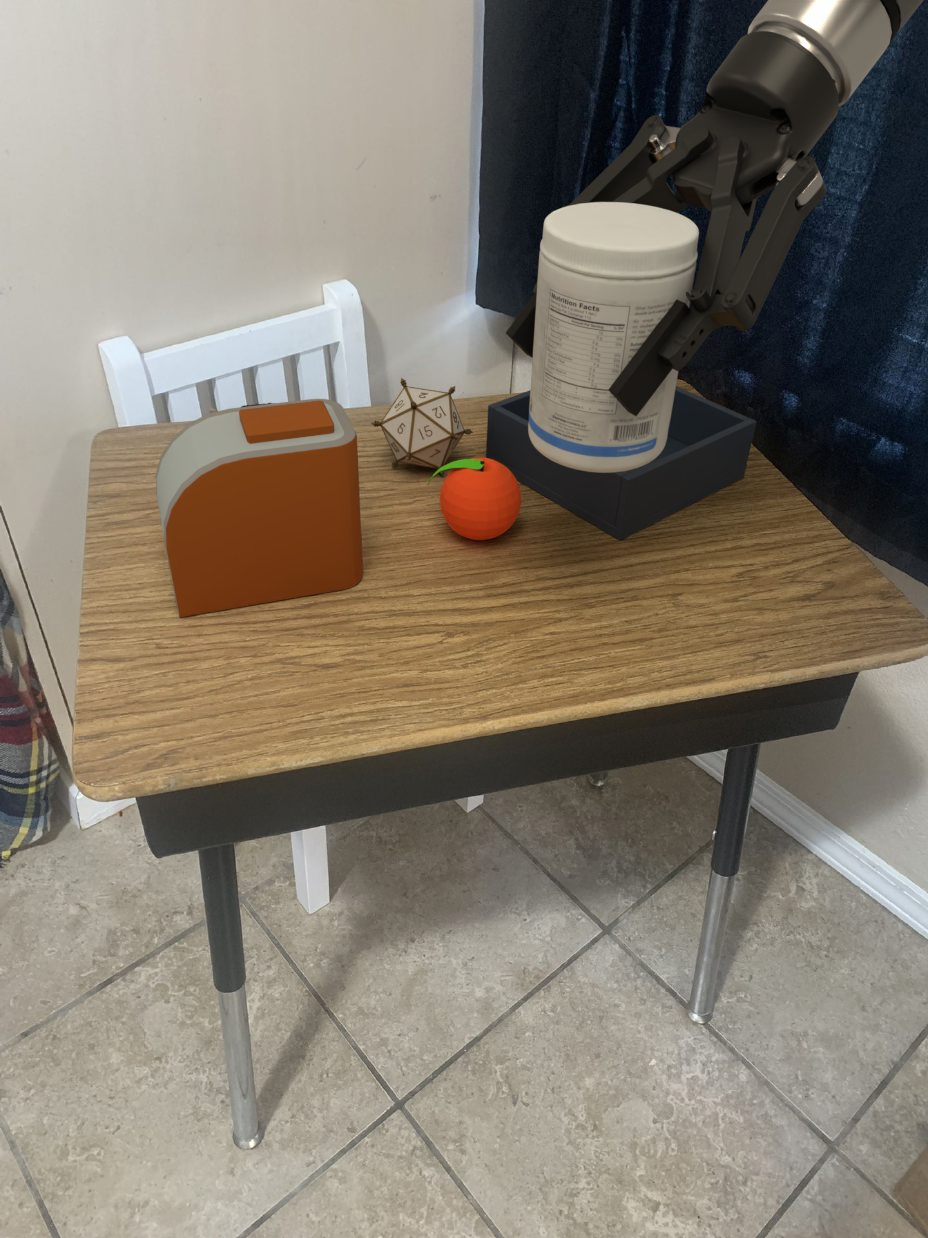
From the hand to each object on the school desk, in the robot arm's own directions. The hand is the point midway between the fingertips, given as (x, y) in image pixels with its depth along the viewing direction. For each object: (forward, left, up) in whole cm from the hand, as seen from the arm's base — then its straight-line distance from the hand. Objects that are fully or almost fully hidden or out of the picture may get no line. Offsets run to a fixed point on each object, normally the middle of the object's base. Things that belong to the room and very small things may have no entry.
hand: (568, 372), depth 62 cm
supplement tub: (0, -3, -6) cm, 7 cm away
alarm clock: (+19, +13, -21) cm, 31 cm away
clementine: (+13, -4, -21) cm, 25 cm away
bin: (+13, -22, -21) cm, 33 cm away
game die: (+25, -8, -21) cm, 34 cm away
